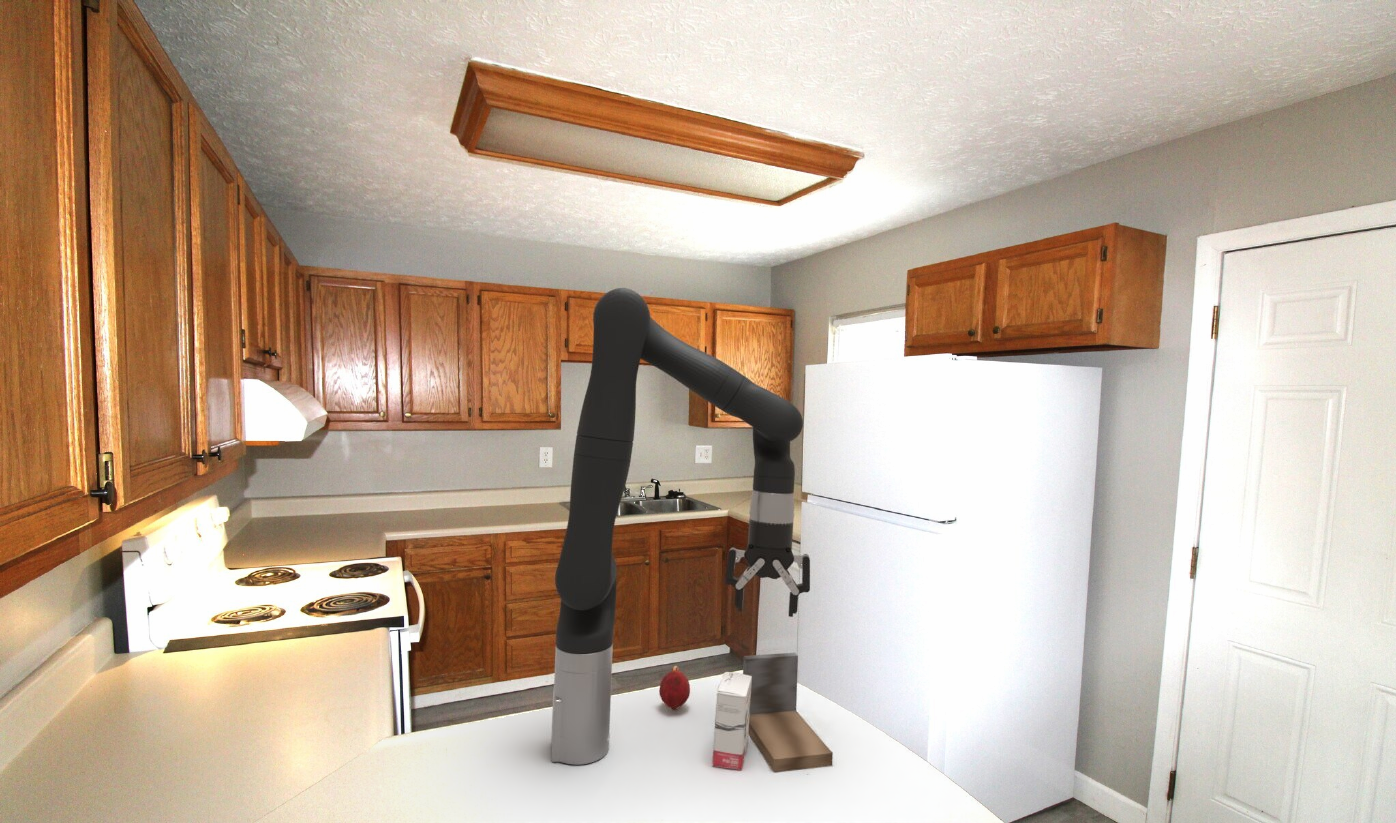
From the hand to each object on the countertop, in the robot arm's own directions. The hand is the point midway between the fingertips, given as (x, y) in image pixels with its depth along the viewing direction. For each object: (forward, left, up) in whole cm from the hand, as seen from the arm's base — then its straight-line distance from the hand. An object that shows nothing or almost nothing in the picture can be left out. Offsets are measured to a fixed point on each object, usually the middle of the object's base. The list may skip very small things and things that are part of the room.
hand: (765, 612), depth 104 cm
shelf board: (+4, -1, -22) cm, 22 cm away
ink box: (-6, -3, -22) cm, 23 cm away
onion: (-12, +14, -22) cm, 29 cm away
